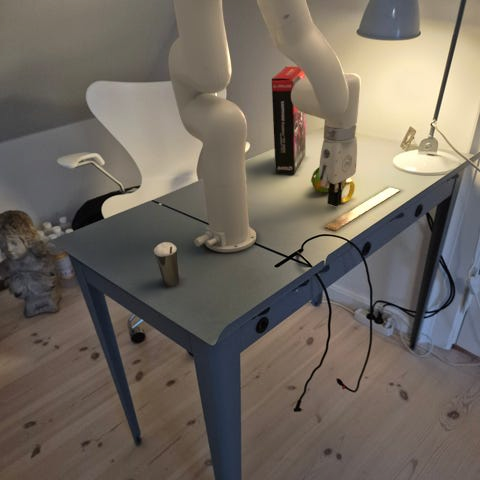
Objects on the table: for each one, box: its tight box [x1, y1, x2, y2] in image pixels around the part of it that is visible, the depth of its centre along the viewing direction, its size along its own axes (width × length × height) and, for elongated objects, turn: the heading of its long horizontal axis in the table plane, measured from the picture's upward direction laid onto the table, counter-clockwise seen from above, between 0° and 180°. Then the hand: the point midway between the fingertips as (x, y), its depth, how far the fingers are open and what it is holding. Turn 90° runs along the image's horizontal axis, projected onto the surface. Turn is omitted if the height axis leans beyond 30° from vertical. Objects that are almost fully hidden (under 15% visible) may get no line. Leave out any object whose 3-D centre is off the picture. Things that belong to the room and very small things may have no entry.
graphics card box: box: [271, 66, 306, 175], centre depth 138 cm, size 17×7×27 cm, turn 162°
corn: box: [310, 167, 328, 194], centre depth 129 cm, size 7×8×20 cm
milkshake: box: [153, 241, 180, 288], centre depth 93 cm, size 4×5×10 cm
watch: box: [341, 177, 355, 204], centre depth 121 cm, size 6×3×6 cm, turn 133°
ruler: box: [324, 187, 401, 232], centre depth 118 cm, size 30×3×1 cm, turn 135°
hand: (334, 204), depth 119 cm, fingers closed
